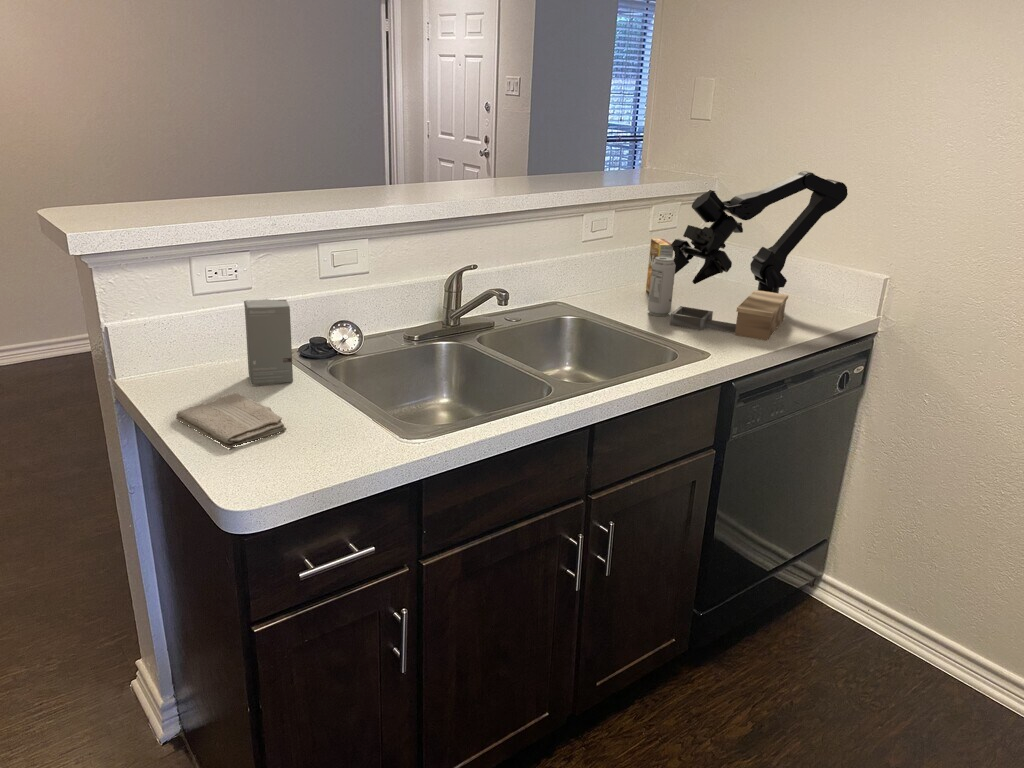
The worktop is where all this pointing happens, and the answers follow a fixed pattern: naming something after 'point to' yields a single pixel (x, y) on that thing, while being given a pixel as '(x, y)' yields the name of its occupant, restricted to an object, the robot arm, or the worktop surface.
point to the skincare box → (268, 341)
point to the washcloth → (232, 420)
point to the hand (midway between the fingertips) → (681, 278)
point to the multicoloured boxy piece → (739, 316)
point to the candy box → (657, 249)
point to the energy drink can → (661, 286)
